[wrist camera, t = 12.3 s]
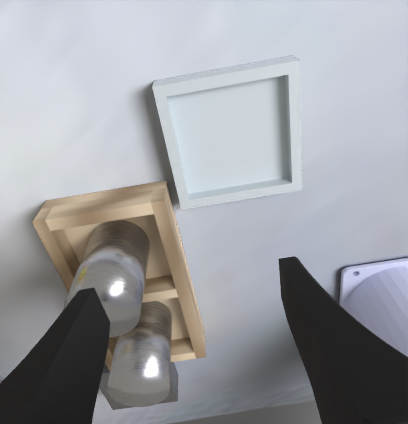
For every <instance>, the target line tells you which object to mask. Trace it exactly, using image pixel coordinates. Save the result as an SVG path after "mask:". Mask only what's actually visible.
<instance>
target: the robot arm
mask: <svg viewBox="0 0 408 424" xmlns="http://www.w3.org/2000/svg"><path fill="white" fill-rule="evenodd" d="M279 270H280V285H281V298H282V302H283V306H284V309H285V313H286V317H287V321H288V324H289V326H290V329H291V332H292V334H293V337H294V340H295V342H296V345H297V348H298V350H299V353H300V356H301V358H302V361H303V363H304V366H305V369H306V371H307V374H308V377H309V380H310V383H311V386H312V389H313V393H314V396H315V400H316V403H317V407H318V410H319V414H320V418H321V421H322V424H408V258H404V259H397V260H391V261H384V262H377V263H371V264H364V265H358V266H351V267H346V268H344V269H343V270H342V272H341V286H340V303H339V304H338V303H337V302H336V301H335V300H334V299H333V298H332V297H331V296H330V295H329V294H328V293H327V292H326V291H325V290H324V289H323V288H322V287H321V286H320V284H319V283H318V282H317V281H316V280H315V279H314V278H313V277H312V276H311V274H310V273H309V272H308V271H307V270H306V268H305V267H304V266H303V265H302V263H301V262H300V261H299V259H298V258H296V257H288V258H282V259H279ZM356 271H357V272H356ZM354 272H355V273H354ZM109 333H110V320H109V318H108V316H107V314H106V312H105V310H104V308H103V305H102V303H101V301H100V299H99V297H98V295H97V292H96V290H95V288H88V289H82V290H79V291H78V292H77V293H76V295H75V296H74V297H73V298H72V300H71V301H70V302H69V304H68V305H67V306H66V308H65V309H64V310H63V312H62V313H61V314H60V316H59V317H58V318H57V319H56V321H55V322H54V323H53V325H52V326H51V327H50V328H49V330H48V331H47V332H46V334H45V335H44V336H43V337H42V338H41V339H40V341H39V342H38V343H37V344H36V345H35V347H34V348H33V349H32V350H31V351H30V352H29V354H28V355H27V356H26V357H25V358H24V359H23V360H22V361H21V363H20V364H19V365H18V366H17V367H16V368H15V369H14V370H13V371H12V372H11V373H10V374H9V375H8V376H7V377H6V378H5V379H4V380H3V381H2V382H1V383H0V424H92V418H93V412H94V407H95V402H96V398H97V394H98V389H99V385H100V381H101V376H102V372H103V368H104V363H105V359H106V355H107V350H108V343H109Z"/></svg>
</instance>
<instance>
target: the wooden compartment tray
mask: <svg viewBox="0 0 408 424" xmlns="http://www.w3.org/2000/svg"><path fill="white" fill-rule="evenodd" d="M115 220H125V221H129V222H132V223H134V224H136V225H138V226H139V227H141V228H142V229H143V230H144V231H145V233H146V234H147V236H148V238H149V241H150V251H149V258H148V265H147V272H146V279H145V286H144V293H143V300H142V303H144V302H151V301H159V302H161V303H163V304H165V305H166V306H167V307H168V308H169V309H170V311H171V313H172V339H171V362H175V361H182V360H189V359H196V358H203V357H206V352H205V333H204V328H203V324H202V320H201V316H200V312H199V308H198V304H197V300H196V296H195V292H194V288H193V285H192V281H191V277H190V273H189V269H188V265H187V261H186V257H185V253H184V249H183V245H182V241H181V237H180V233H179V229H178V225H177V221H176V217H175V213H174V209H173V205H172V201H171V197H170V193H169V189H168V186H167V182H166V181H160V182H154V183H148V184H142V185H136V186H130V187H125V188H119V189H113V190H107V191H101V192H95V193H89V194H83V195H77V196H71V197H65V198H60V199H54V200H48V201H45V203H44V205H43V206H42V208H41V209H40V211H39V212H38V214H37V216H36V217H35V219H34V220H33V222H32V223H33V225H34V227H35V229H36V231H37V233H38V235H39V237H40V239H41V240H42V242H43V244H44V246H45V248H46V250H47V252H48V254H49V256H50V258H51V260H52V262H53V263H54V265H55V267H56V269H57V271H58V273H59V275H60V277H61V279H62V281H63V283H64V284H65V286H66V288H67V290H68V292H69V291H70V289H71V286H72V283H73V281H74V278H75V276H76V273H77V270H78V268H79V265H80V263H81V260H82V257H83V255H84V252H85V249H86V247H87V244H88V242H89V239H90V236H91V234H92V232H93V230H94V229H95V228H96V227H97V226H98V225H100V224H101V223H103V222H109V221H115ZM116 339H117V336H116V337H109V343H108V350H107V355H106V359H105V363H106V365H107V367H108V369H109V371H110V370H111V365H112V360H113V355H114V350H115V344H116Z"/></svg>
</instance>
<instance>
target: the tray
mask: <svg viewBox="0 0 408 424" xmlns="http://www.w3.org/2000/svg"><path fill="white" fill-rule="evenodd" d="M152 89H153V93H154V97H155V101H156V105H157V110H158V114H159V118H160V122H161V126H162V131H163V135H164V139H165V143H166V147H167V152H168V156H169V160H170V164H171V168H172V173H173V177H174V181H175V185H176V189H177V194H178V198H179V202H180V206H181V210H183V209H189V208H195V207H201V206H208V205H214V204H220V203H226V202H232V201H238V200H244V199H250V198H256V197H262V196H268V195H274V194H281V193H287V192H293V191H299V190H302V149H301V93H300V60H299V59H298V58H296V57H295V56H293V55H292V56H286V57H281V58H275V59H270V60H265V61H259V62H254V63H248V64H243V65H238V66H232V67H227V68H221V69H216V70H210V71H205V72H200V73H194V74H189V75H183V76H178V77H172V78H167V79H162V80H156V81H154V83H153V86H152Z"/></svg>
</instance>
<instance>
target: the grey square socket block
mask: <svg viewBox="0 0 408 424" xmlns="http://www.w3.org/2000/svg"><path fill="white" fill-rule="evenodd" d="M109 376H110V371H109V369H108V367H107V365H106V363H104V368H103V372H102V376H101V381H100V385H99V387H100V388H101V390H102V392H103V394H104V395H105V397H106V399H107V401H108V402H109V404H110V406H111V408H112V409H113V410H116V409H123V408H130V407H133V406H127V405H123V404H121V403H118V402H117V401H115V400H113V399H112V398H111V397H110V395H109V394H108V391H107V386H108V381H109ZM174 401H178V374H177V371H176V368H175V365H174V362H171V366H170V391H169V394H168V396H167V397H166V398H165V399H164V400H163V401H161V402H159V403H157V404H160V403H167V402H174Z"/></svg>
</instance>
